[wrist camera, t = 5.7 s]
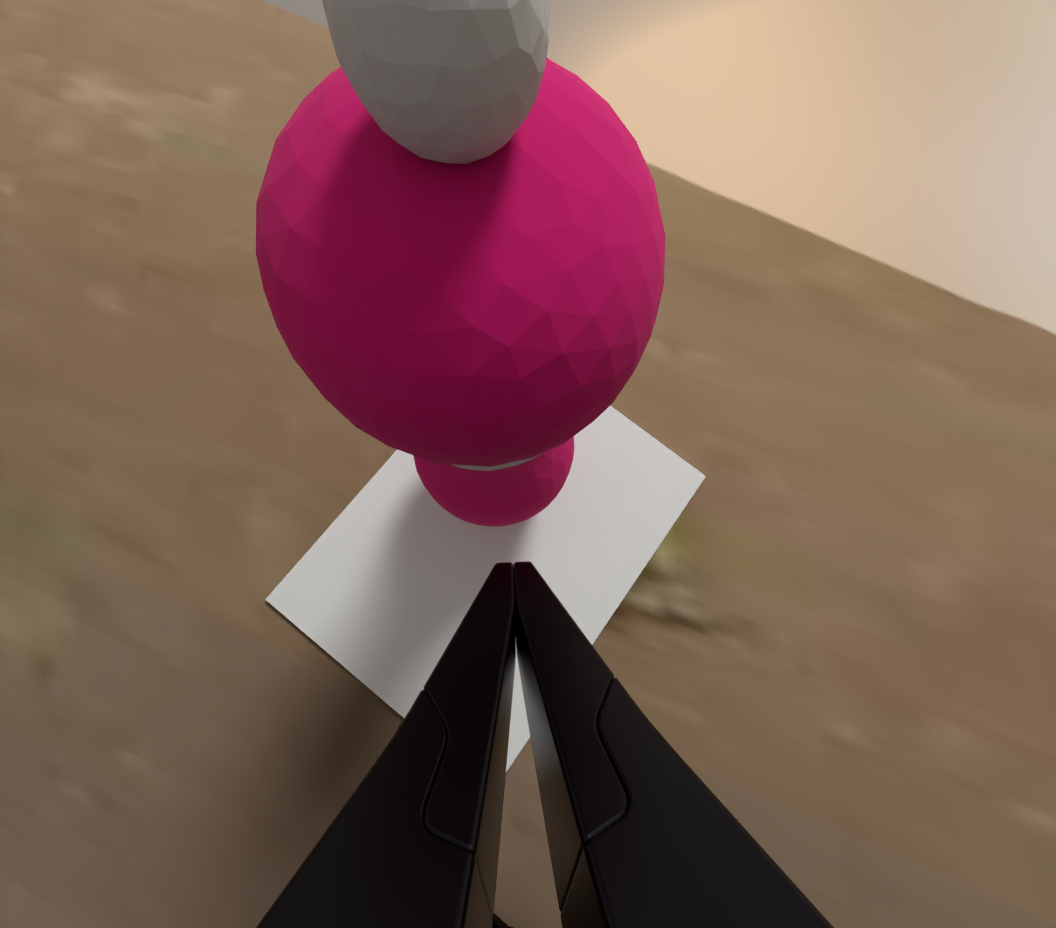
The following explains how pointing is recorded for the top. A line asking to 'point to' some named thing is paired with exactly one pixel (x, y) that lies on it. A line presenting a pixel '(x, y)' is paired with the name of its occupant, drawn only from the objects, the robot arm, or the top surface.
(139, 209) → the top surface
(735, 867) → the robot arm
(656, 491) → the rubber mat
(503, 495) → the pepper mill
